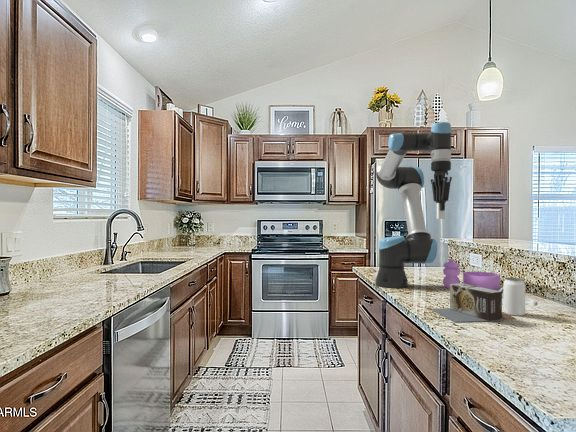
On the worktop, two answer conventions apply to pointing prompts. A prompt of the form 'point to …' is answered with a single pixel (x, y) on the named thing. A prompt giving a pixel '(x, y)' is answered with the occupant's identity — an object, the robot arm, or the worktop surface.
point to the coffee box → (476, 301)
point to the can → (514, 296)
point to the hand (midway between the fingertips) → (440, 218)
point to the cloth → (527, 301)
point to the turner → (507, 316)
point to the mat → (460, 316)
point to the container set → (470, 277)
